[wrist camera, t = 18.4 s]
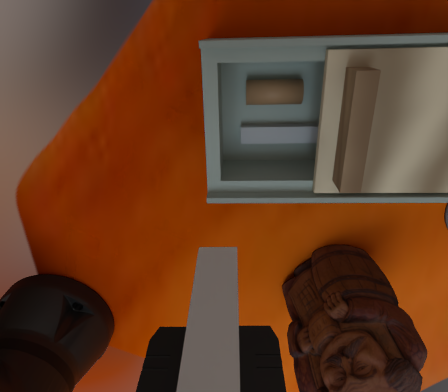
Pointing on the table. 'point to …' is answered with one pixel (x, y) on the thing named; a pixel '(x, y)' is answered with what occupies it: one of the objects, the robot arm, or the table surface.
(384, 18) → the table surface
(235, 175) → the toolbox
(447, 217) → the coaster
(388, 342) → the wooden figurine
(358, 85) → the lid
